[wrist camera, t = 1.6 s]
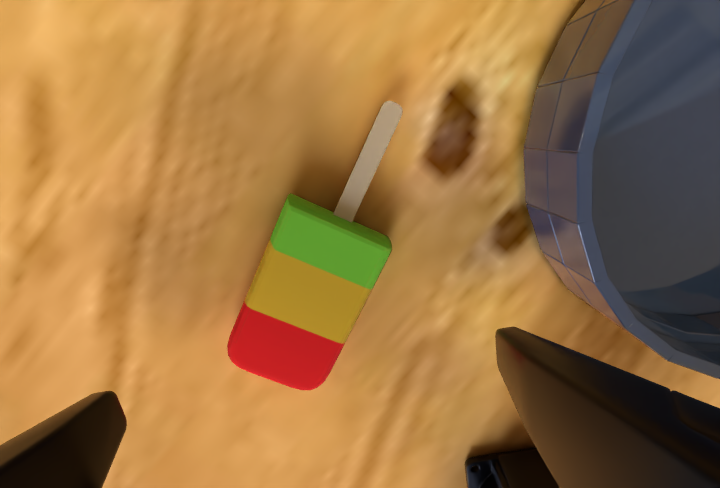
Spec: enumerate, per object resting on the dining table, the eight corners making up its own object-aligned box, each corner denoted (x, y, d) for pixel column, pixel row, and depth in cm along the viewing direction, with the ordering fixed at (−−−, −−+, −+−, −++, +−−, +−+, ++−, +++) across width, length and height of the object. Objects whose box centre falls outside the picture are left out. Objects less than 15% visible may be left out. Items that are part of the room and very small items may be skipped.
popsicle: (227, 344, 21) (216, 365, 19) (338, 77, 17) (338, 70, 16) (320, 379, 22) (318, 401, 20) (444, 130, 18) (455, 129, 16)
